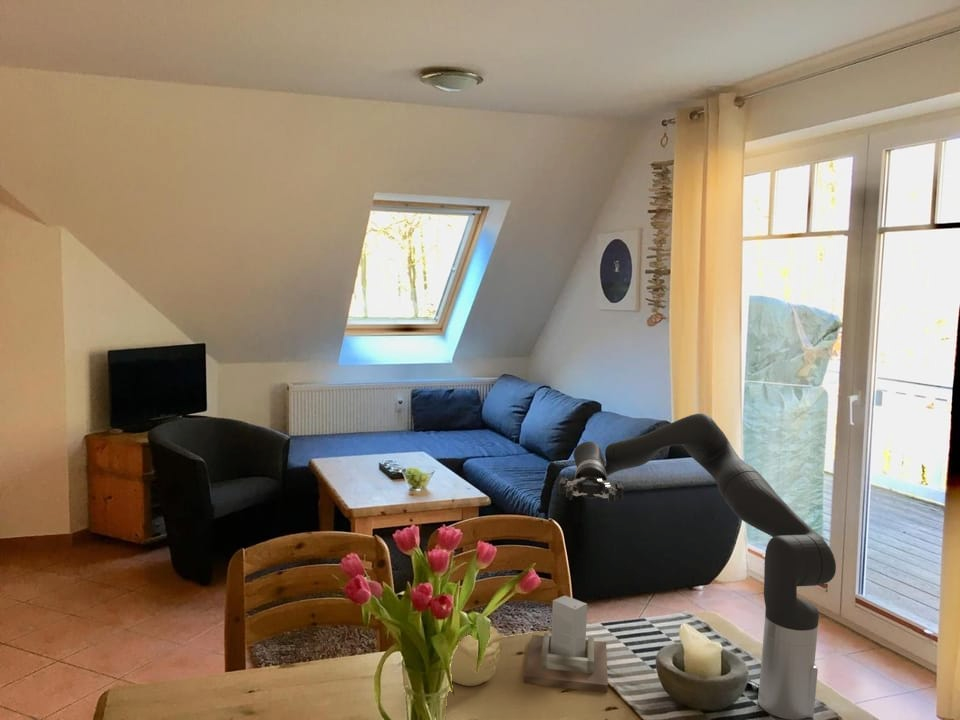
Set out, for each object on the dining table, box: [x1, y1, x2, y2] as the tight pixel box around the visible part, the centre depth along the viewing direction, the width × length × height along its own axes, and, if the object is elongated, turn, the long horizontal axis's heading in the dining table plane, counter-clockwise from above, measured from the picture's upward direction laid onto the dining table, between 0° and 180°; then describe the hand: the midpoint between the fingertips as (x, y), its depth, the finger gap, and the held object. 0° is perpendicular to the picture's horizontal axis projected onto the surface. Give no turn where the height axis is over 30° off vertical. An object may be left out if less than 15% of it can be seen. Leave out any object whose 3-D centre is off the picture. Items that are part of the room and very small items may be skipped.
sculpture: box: [451, 625, 504, 687], centre depth 153 cm, size 11×12×11 cm
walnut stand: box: [524, 632, 609, 693], centre depth 160 cm, size 16×18×4 cm
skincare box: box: [550, 595, 588, 658], centre depth 159 cm, size 6×4×12 cm
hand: (590, 496), depth 169 cm, fingers open, 8 cm apart
